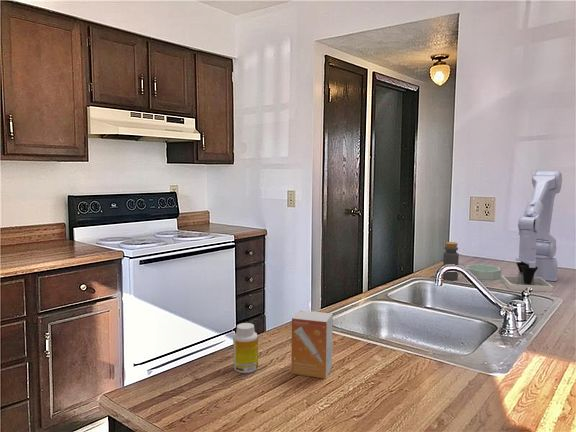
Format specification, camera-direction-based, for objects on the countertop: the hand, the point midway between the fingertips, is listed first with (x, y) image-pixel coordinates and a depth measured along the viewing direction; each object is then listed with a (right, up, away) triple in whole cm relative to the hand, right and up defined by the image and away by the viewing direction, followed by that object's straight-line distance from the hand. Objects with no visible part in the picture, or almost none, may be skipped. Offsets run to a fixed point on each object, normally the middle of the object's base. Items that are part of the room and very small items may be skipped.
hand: (525, 282), depth 179 cm
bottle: (-25, 0, +12) cm, 28 cm away
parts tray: (0, -1, 0) cm, 1 cm away
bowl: (-10, 0, +16) cm, 19 cm away
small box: (-86, -10, -74) cm, 114 cm away
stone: (0, -1, 0) cm, 1 cm away
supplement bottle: (-102, -10, -73) cm, 125 cm away
